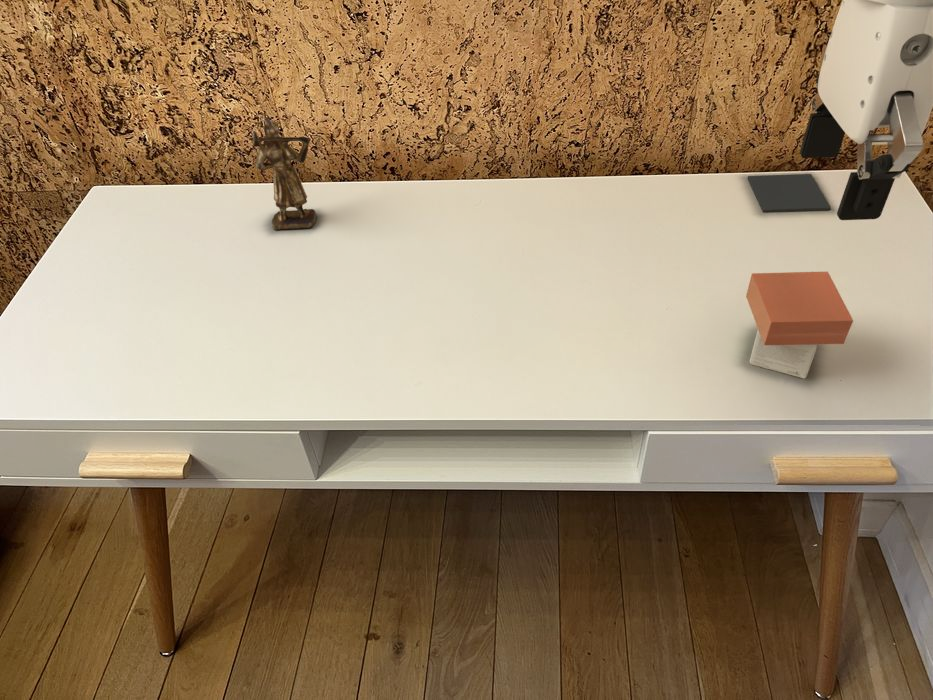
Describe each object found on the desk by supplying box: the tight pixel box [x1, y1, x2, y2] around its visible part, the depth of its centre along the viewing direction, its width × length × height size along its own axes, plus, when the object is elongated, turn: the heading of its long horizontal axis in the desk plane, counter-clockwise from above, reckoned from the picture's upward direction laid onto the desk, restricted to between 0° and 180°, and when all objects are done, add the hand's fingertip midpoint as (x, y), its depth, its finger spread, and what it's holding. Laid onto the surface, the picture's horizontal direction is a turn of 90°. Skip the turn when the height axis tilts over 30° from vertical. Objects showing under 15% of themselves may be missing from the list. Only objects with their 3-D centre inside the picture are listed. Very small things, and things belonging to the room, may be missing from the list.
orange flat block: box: [745, 271, 854, 345], centre depth 71 cm, size 7×7×3 cm
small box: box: [749, 329, 819, 380], centre depth 74 cm, size 6×6×5 cm
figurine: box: [248, 116, 318, 231], centre depth 94 cm, size 7×4×15 cm, turn 89°
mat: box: [747, 173, 832, 213], centre depth 97 cm, size 8×8×1 cm
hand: (836, 185), depth 62 cm, fingers open, 9 cm apart
